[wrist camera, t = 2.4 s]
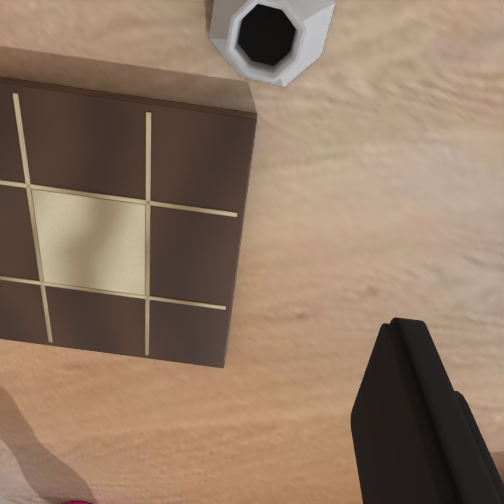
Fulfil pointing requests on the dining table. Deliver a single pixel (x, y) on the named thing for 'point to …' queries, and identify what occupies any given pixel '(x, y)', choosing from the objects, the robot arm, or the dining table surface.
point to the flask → (270, 36)
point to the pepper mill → (76, 503)
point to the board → (120, 221)
